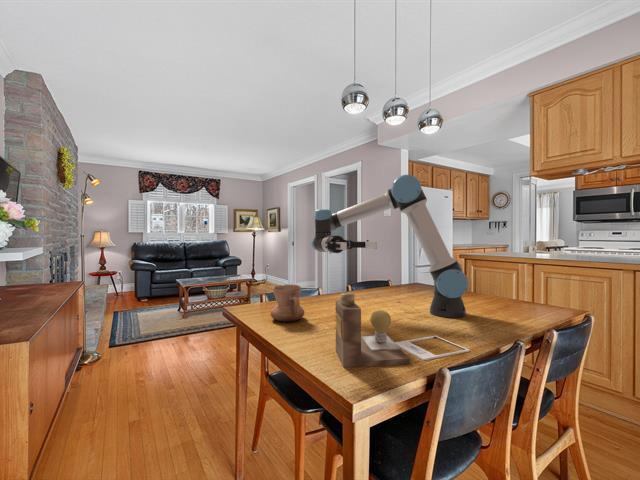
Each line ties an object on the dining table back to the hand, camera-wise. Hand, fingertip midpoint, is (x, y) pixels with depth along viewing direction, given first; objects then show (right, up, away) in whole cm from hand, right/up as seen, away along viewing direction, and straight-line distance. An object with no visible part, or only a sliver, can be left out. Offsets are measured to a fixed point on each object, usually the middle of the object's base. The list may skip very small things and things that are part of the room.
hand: (361, 245), depth 117 cm
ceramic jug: (-29, -32, +16) cm, 46 cm away
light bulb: (+4, -31, -17) cm, 35 cm away
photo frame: (+20, -33, -17) cm, 42 cm away
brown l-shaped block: (-1, -32, -19) cm, 38 cm away
